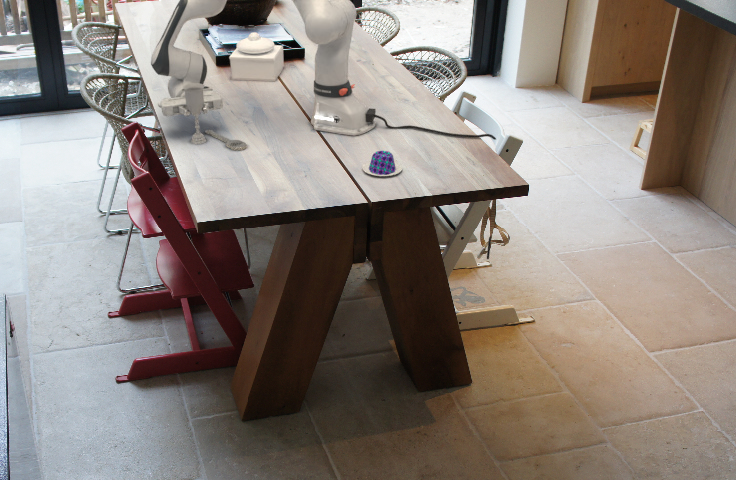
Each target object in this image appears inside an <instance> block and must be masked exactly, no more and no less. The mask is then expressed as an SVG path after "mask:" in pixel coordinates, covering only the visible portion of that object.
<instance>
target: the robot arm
mask: <svg viewBox="0 0 736 480" xmlns="http://www.w3.org/2000/svg"><path fill="white" fill-rule="evenodd" d="M227 1H228V0H179V1H178V2H177V4H176V6H175V7H174V10H173V12H172V13H171V16H170V18H169V20H168V22H167V25H166V26H165V28H164V31H163V33H162V35H161V37H160V39H159V41H158V43H157V45H156V46H155V48H154V50H153V51H152V54H151V56H150V57H151V58H150V66H151V67H152V69H153V70H154V72H155V73H156V74H157V75H158V76H163V77H170V78H169V79H168V82H167V91H168V95H169V96H170V97H168V98H167V97H166V98H163V99H161V100H160V102H158V103H157V106H158V108H160V109H161V114H162V116H164V117H171V116H178V115H179V116H180V115H184V117H188V116H190V115H191V112H190V110H189V109H188V106H187V104H186V98H185V91H184V89H183V86H184V85H187V84H191V83H200V84H203V85H204V83H205V81H206V78H207V74H208V65H207V62H206V59H205V57H204V56H203V54H200V53H197V52H194V51H190V50H186V49H183V48H180V47H176V46H175V44H176V41H177V40H178V37H179V35H180V33H181V31H182V28H183V26H184V25H185V24H186V23H187V22H189V21H191V20H195V19H208V18H212V17H215V16H217V15H218V14H220V13H221V12H223V10H224V9H225V7H226V4H227ZM291 1H292V3H293V4H294V7H296V9H297V11H298V13H299V15H300V17H301V19H302V22H303V23H304V24H303V25H304V33H305V35H306V37H307V38H308V40H309V41H310V42H312V43H313V44H315V45H317V48H316V52H315V55H314V80H313V94H314V101H313V108H312V115H311V119H310V124H311V125H312V126H313V130H314V131H319V132H326V133H332V134H340V135H345V136H346V135H347V136H351V137H352V136H354V137H355V136H359V135H363V134H366V133H367V132H369V131H372V130H373V129H374V128H375V126H376V125H377V124H376V121H375V118H377V119H379V120H382V121H383V123H384V125H385V126H386V128H388V129H393V130H400V129H402V130H403V129H415V130H419V131H423V132H429V133H434V134H439V135H444V136H449V137H458V138H475V139H476V138H484V137H487V138H491V139H492V140H493V141H494V140H497V137H495V136H494V135H493V134H490V133H483V134H463V133H462V134H461V133H452V132H446V131H440V130H435V129H431V128H427V127H423V126H416V125H401V126H400V125H399V126H392V125H389V123H388V121H387V119H386V118H384V117H383V116H381V115H378V114H376V113H377V111H376V108H371V107H370V108H368V107H367V105H366V104H365V103H364V102H363V101H362V100H360V98H358V96H356V95H355V93H354V92H353V89H354V88H355V85H356V84H354V83H353V84H351V82H350V80H349V57H350V56H349V55H350V49H351V44H352V38H353V37H352V36H353V31H354V25H355V22H356V19H357V9H356V7H355V4H354V3H353V2H352V1H351V0H291ZM203 96H204V104H203V108H202V111H201V113H202V114H204V115H205V114H208V113H209V111H215V110H217V111H218V110H222V109H223V108H224V103H223V102H224V100H223V97H222V95H220V93H219V92H217V91H216V90H214V89H213V87H212V86H206V85H204V89H203ZM492 237H493V235H490V236H489V237H488V243H487V251H486V254H487V255H486V260H490V253H491V244H492Z"/></svg>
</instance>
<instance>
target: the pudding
mask: <svg viewBox="0 0 736 480" xmlns="http://www.w3.org/2000/svg"><path fill="white" fill-rule="evenodd" d="M362 170H363V172H365V173H366V174H368V175H372V176H377V177H389V176H395V175H397V174H399V173H401V172H402V170H403V166H402V165H401V164H400V163H399V162H397V161H395V159H394V155H393V153H392V152H390V151H388V150H377V151H375V152H374V153H373V154H372V155H371V160H370V161H367V162H366V163H364V164H363V165H362Z"/></svg>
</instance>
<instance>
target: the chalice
mask: <svg viewBox="0 0 736 480" xmlns="http://www.w3.org/2000/svg"><path fill="white" fill-rule="evenodd" d="M204 86H205V84H204V83H203V84H200V83H191V84H187V85H184V86H183V89H184V91H185V98H186V104H187V106H188V109H189V110H190V112H191V113H190V115H192V116H194V121H193V122H194V123H195V126H194V129H195V133H193V135H192V137H191V141H190V142H191V144H195V145H203V144H205V143H206V142H207V139H206V137H205V135H204V134H203V132H201V131H200V127H201V126H200V124H199V123H200V120H199V115H201V113H202V112H201V111H202V108H203V104H204V96H203V89H204Z"/></svg>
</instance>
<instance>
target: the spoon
mask: <svg viewBox="0 0 736 480" xmlns="http://www.w3.org/2000/svg"><path fill="white" fill-rule="evenodd" d="M205 135H209V136H211V137H213V138H215V139H217V140H219V141H220V142H223V143H225V145H226V147H227V148H228V149H230V150H233V151H242V150H245V149H246V148H247V143H246V142H245V141H242V140H241V139H229V138H228V137H225V136H223V135H221V134H219V133H218V132H215V131H214V130H212V129H206V130H205Z"/></svg>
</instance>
